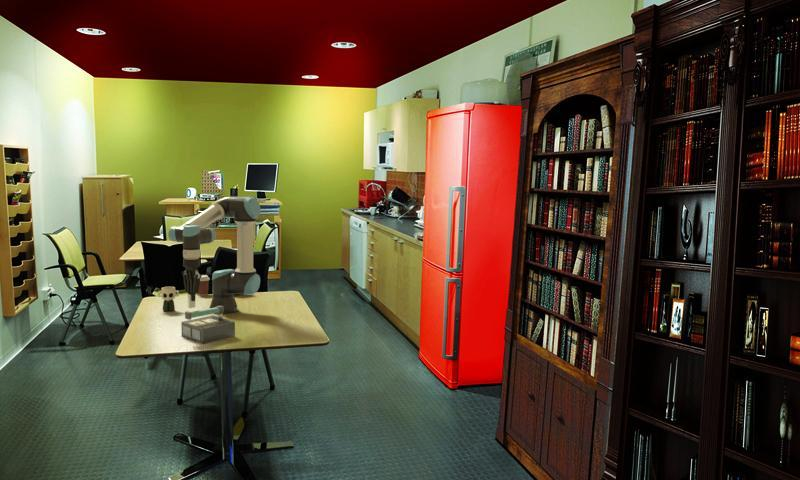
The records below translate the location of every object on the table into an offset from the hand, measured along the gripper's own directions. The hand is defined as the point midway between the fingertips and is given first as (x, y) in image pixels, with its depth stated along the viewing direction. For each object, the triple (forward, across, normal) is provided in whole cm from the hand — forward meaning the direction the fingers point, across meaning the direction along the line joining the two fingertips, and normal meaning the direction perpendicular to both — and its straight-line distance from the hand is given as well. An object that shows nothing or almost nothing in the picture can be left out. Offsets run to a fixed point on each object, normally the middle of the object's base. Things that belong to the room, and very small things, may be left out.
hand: (191, 307), depth 266 cm
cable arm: (+3, +7, +3) cm, 8 cm away
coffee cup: (+13, -76, +53) cm, 94 cm away
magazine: (+13, -61, +68) cm, 93 cm away
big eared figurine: (+13, -52, +17) cm, 57 cm away
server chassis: (+14, +7, +4) cm, 16 cm away
